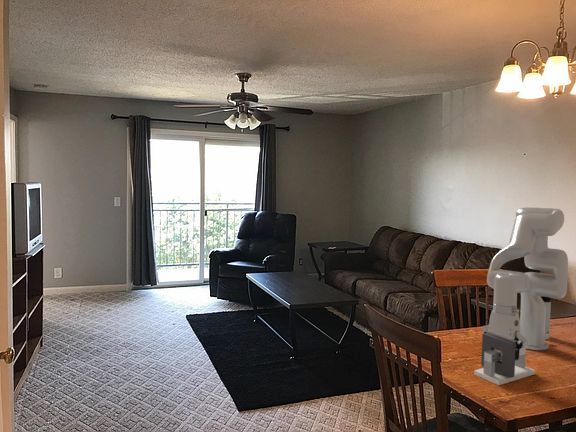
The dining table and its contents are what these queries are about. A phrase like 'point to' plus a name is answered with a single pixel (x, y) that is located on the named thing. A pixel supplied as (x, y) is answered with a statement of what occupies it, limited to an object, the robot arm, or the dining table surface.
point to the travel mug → (547, 313)
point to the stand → (499, 379)
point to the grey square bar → (498, 354)
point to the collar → (508, 354)
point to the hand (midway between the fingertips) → (502, 355)
